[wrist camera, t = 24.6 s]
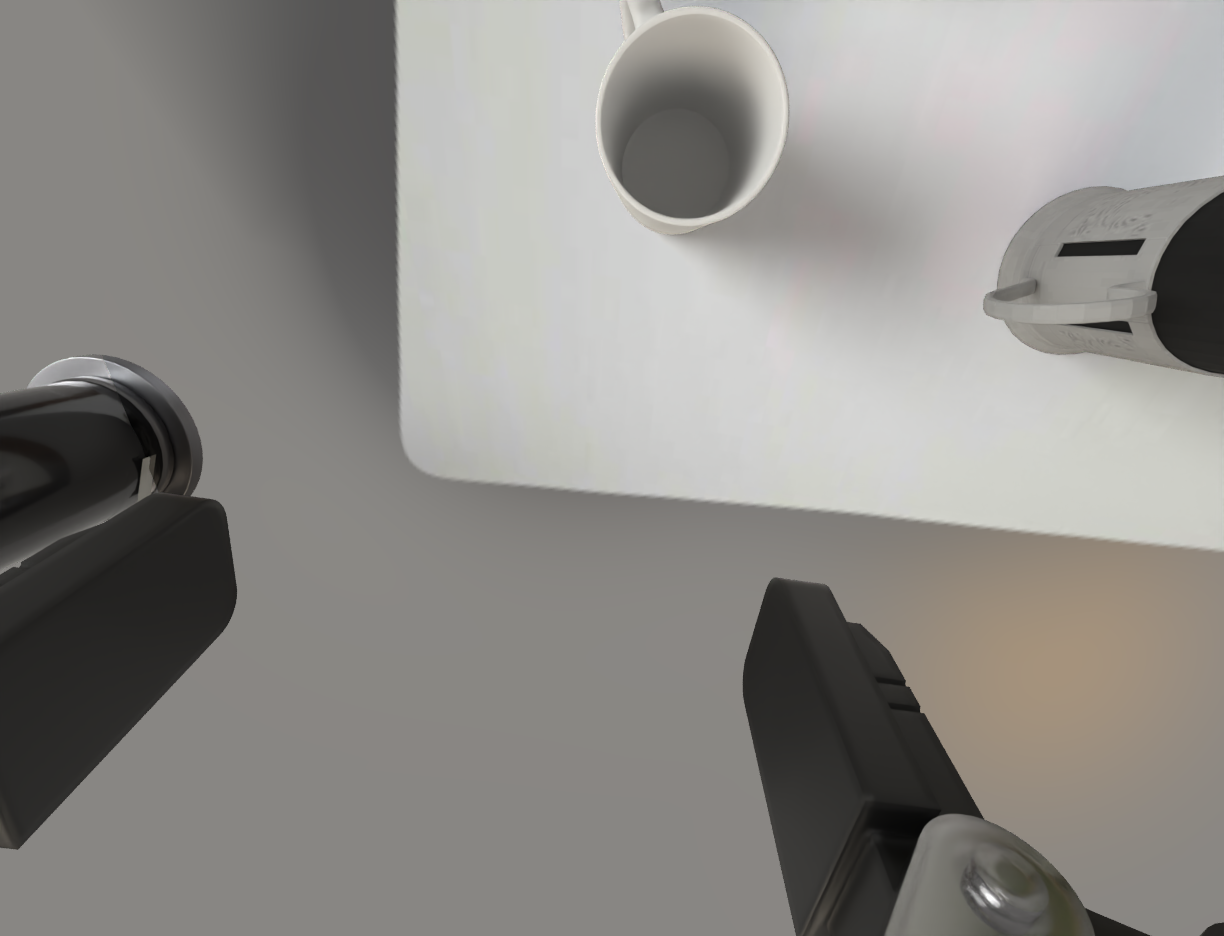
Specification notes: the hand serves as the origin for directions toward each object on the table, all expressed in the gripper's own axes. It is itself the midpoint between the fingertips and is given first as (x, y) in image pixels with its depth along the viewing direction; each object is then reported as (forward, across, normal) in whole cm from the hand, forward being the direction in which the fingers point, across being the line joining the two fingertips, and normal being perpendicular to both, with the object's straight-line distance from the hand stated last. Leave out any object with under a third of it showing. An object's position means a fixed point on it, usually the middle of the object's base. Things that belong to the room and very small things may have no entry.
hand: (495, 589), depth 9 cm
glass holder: (+28, -24, -4) cm, 37 cm away
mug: (+29, -2, -8) cm, 30 cm away
